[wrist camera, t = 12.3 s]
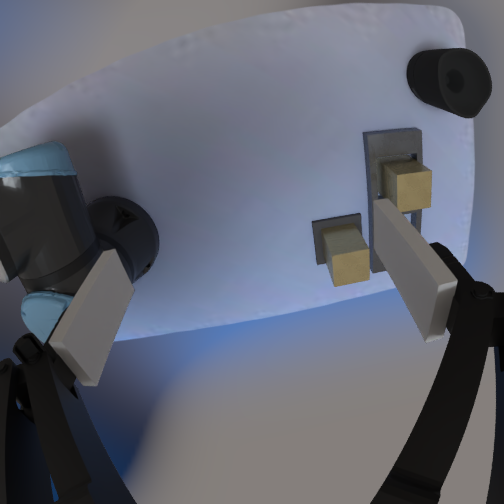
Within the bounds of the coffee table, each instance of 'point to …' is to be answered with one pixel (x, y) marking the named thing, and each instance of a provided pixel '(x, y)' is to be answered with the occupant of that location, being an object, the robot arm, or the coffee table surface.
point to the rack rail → (376, 147)
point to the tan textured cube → (345, 254)
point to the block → (404, 182)
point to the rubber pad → (331, 223)
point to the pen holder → (450, 80)
